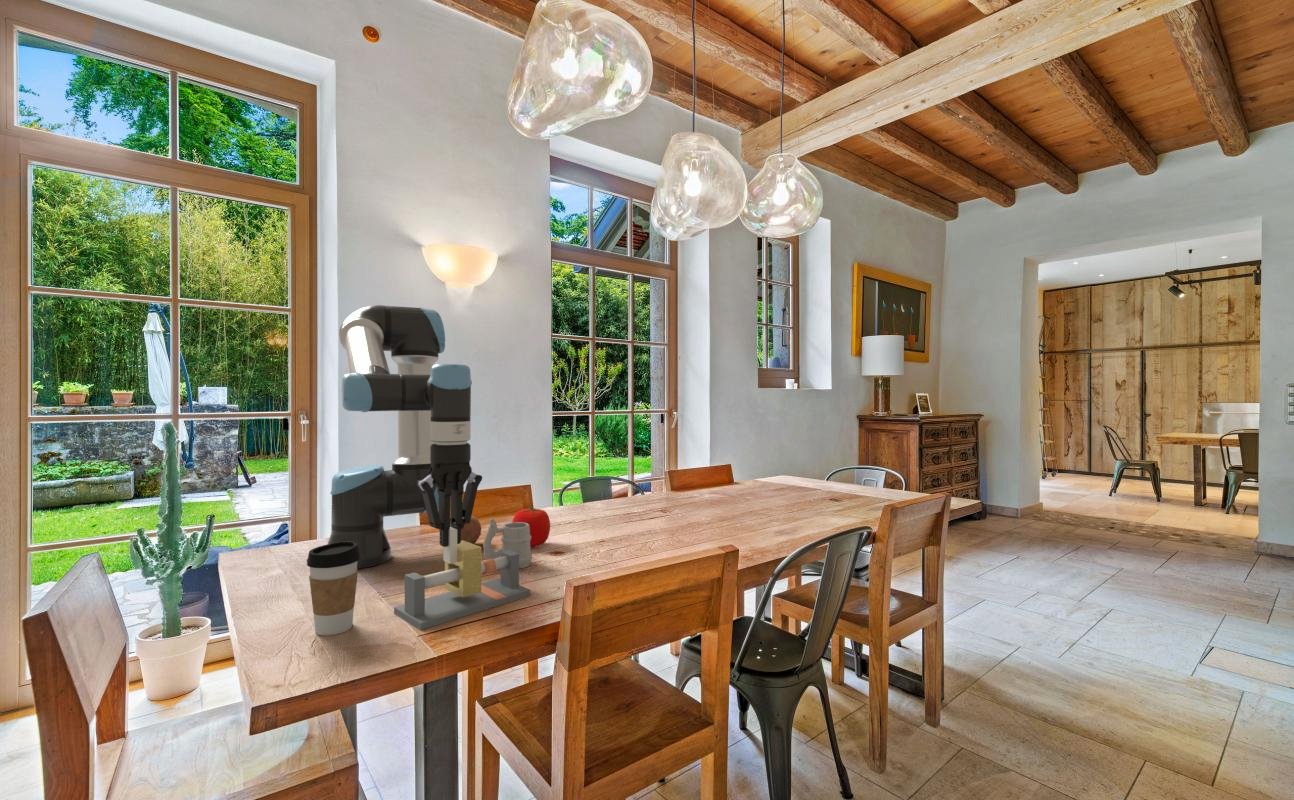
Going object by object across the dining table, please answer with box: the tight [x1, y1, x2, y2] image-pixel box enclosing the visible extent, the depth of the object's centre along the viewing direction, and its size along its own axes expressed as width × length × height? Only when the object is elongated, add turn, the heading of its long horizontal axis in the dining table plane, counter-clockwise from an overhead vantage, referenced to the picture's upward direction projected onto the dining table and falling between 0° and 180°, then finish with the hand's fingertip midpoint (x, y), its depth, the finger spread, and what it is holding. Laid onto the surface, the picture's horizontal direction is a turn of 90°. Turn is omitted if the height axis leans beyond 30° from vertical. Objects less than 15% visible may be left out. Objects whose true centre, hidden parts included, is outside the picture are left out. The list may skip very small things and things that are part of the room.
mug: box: [482, 518, 533, 569], centre depth 140 cm, size 8×12×12 cm, turn 114°
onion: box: [450, 515, 482, 545], centre depth 156 cm, size 10×9×10 cm
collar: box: [444, 540, 482, 597], centre depth 115 cm, size 7×4×9 cm, turn 47°
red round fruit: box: [511, 507, 551, 549], centre depth 157 cm, size 10×11×11 cm
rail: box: [393, 550, 532, 631], centre depth 115 cm, size 11×24×8 cm, turn 137°
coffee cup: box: [306, 541, 360, 637], centre depth 103 cm, size 8×8×15 cm
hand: (450, 561), depth 113 cm, fingers closed
